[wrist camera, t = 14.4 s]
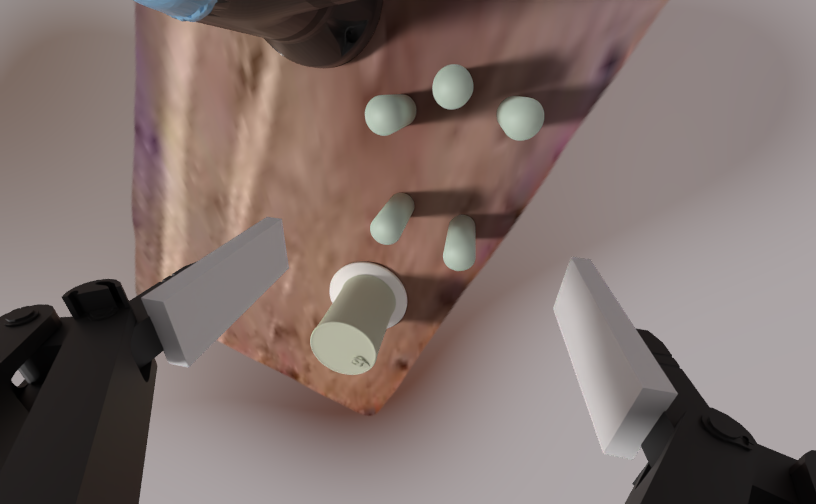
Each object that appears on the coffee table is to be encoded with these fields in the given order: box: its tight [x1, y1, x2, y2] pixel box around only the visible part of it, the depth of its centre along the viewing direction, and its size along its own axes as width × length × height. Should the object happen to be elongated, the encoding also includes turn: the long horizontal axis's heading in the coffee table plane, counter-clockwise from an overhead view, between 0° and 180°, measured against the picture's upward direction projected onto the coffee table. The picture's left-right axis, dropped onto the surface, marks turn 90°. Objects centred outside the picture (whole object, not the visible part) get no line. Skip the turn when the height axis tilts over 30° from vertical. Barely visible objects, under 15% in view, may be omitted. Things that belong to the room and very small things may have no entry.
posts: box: [365, 64, 544, 271], centre depth 36 cm, size 17×21×9 cm
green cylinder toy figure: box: [310, 275, 396, 375], centre depth 46 cm, size 9×9×12 cm
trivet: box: [330, 261, 408, 328], centre depth 52 cm, size 13×13×1 cm
